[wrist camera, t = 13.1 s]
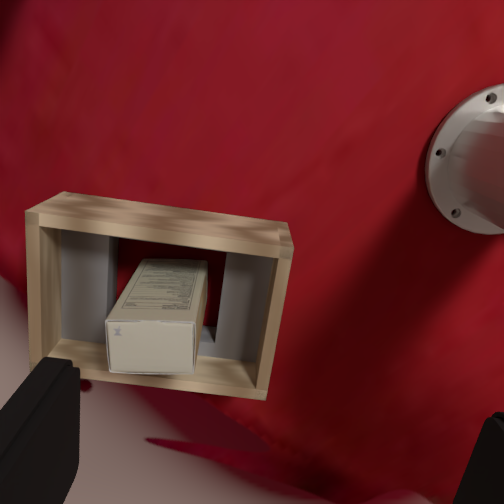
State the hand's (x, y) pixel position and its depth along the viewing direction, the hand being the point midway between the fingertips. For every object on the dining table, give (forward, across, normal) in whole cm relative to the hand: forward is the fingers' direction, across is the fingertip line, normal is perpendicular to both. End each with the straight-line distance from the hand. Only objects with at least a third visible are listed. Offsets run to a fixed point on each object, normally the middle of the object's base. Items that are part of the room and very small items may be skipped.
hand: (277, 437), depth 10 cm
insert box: (+30, +7, +10) cm, 33 cm away
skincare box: (+31, +6, +10) cm, 33 cm away
